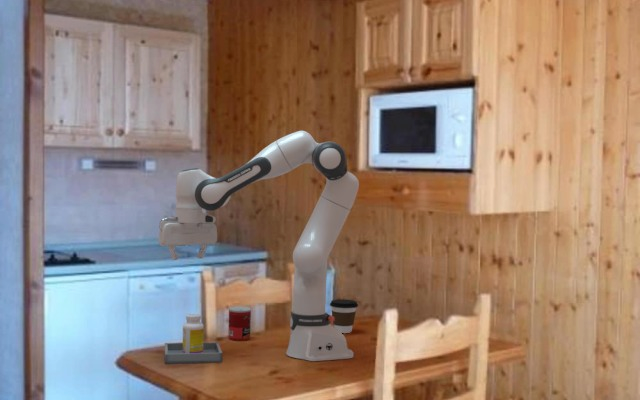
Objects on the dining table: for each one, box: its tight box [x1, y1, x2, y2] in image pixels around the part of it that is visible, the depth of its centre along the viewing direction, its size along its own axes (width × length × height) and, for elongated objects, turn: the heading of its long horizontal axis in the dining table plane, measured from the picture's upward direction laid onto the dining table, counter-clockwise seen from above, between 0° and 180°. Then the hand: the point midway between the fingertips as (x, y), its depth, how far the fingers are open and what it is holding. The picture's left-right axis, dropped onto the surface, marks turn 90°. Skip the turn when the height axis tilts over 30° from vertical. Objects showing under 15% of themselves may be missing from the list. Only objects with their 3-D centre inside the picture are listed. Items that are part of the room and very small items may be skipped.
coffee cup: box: [329, 298, 359, 334], centre depth 287 cm, size 11×11×12 cm
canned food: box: [227, 306, 252, 342], centre depth 270 cm, size 8×8×11 cm
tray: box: [164, 341, 223, 365], centre depth 241 cm, size 18×16×3 cm
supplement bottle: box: [182, 313, 205, 353], centre depth 241 cm, size 7×7×13 cm
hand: (187, 258), depth 248 cm, fingers open, 8 cm apart
